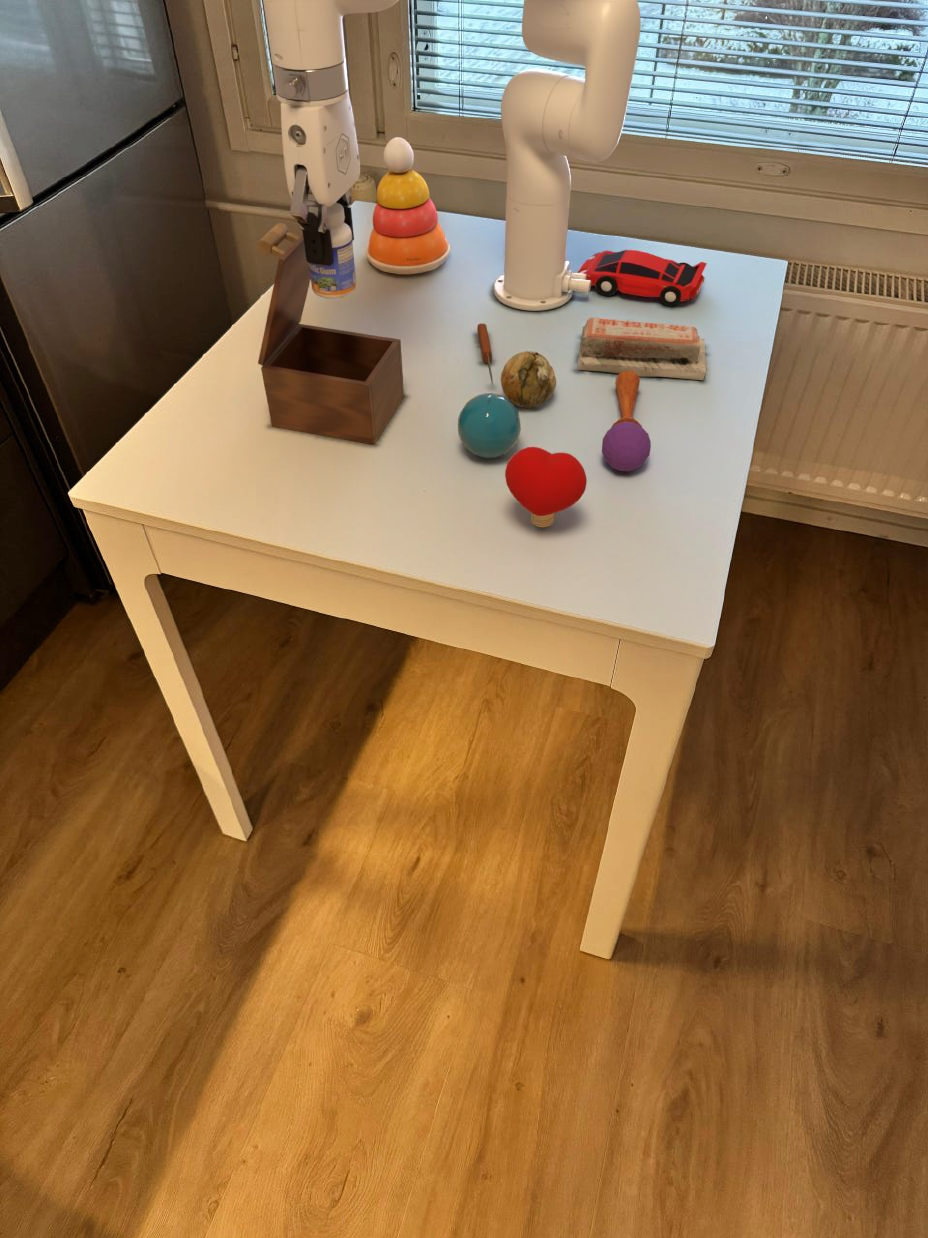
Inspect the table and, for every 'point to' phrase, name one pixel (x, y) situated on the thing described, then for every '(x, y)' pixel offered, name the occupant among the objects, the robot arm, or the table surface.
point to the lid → (284, 288)
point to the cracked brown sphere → (528, 379)
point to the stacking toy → (405, 218)
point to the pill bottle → (335, 259)
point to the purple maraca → (626, 429)
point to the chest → (334, 383)
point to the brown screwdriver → (485, 345)
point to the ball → (489, 425)
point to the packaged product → (642, 349)
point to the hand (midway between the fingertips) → (330, 249)
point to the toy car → (643, 275)
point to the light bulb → (545, 482)
